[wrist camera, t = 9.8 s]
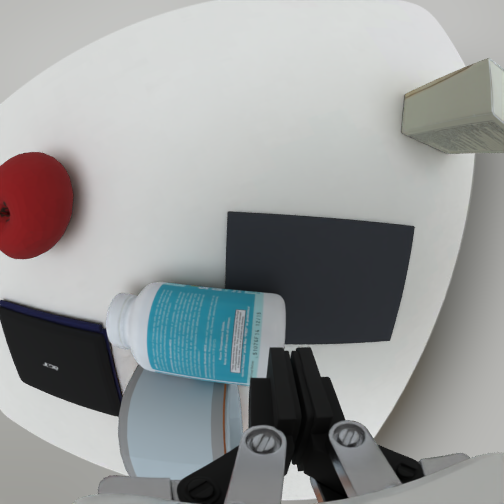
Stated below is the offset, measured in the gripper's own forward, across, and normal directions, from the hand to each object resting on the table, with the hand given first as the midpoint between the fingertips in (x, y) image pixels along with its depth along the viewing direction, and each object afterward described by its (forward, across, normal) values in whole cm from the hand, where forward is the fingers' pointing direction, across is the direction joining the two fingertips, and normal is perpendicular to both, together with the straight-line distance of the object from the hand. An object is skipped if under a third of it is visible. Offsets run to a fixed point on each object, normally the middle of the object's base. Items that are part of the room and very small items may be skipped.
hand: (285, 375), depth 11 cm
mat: (+13, -5, +1) cm, 14 cm away
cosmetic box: (+14, -14, -15) cm, 25 cm away
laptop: (+14, +25, +13) cm, 31 cm away
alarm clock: (+14, +6, +15) cm, 21 cm away
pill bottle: (+9, -1, +4) cm, 10 cm away
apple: (+14, +21, -6) cm, 26 cm away
